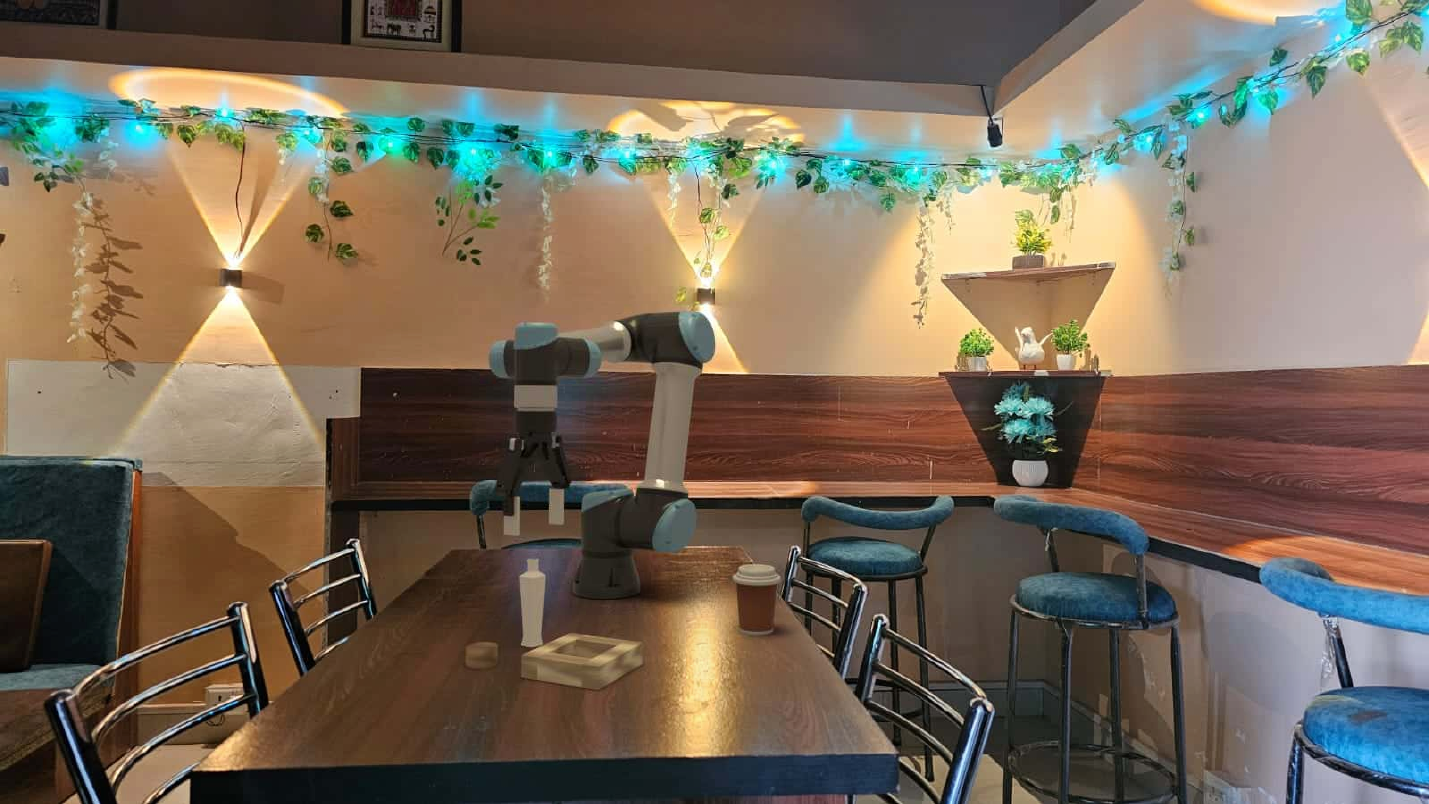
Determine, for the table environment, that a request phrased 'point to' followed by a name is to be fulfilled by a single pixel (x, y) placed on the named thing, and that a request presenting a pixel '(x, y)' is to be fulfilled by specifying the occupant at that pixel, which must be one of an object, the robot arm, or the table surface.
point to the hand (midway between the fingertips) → (534, 529)
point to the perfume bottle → (532, 604)
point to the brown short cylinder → (481, 655)
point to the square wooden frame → (582, 661)
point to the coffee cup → (756, 598)
